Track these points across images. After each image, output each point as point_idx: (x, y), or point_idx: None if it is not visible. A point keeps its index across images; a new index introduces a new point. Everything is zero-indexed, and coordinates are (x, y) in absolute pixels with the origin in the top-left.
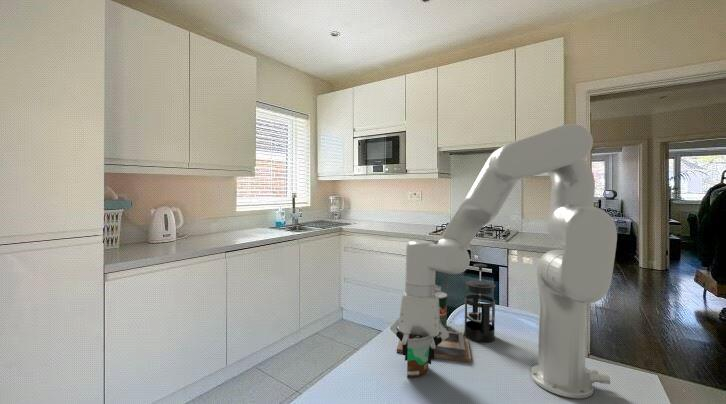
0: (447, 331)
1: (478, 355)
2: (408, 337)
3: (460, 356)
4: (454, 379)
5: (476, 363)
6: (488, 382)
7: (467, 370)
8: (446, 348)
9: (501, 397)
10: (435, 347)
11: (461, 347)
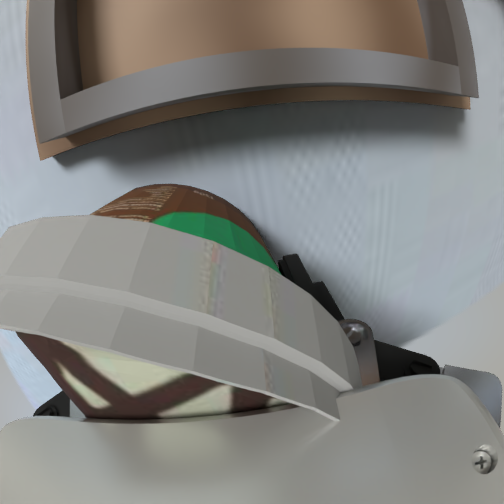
0: (498, 403)
1: (474, 39)
2: (63, 17)
3: (433, 94)
4: (386, 278)
5: (472, 112)
6: (479, 242)
7: (441, 185)
8: (385, 84)
9: (479, 299)
10: (306, 84)
11: (464, 73)
